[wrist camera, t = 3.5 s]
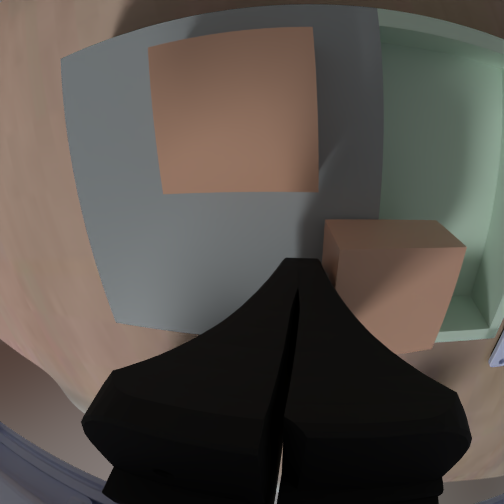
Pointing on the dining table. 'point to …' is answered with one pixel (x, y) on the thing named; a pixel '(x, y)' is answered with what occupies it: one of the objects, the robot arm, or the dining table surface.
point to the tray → (448, 152)
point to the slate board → (219, 203)
